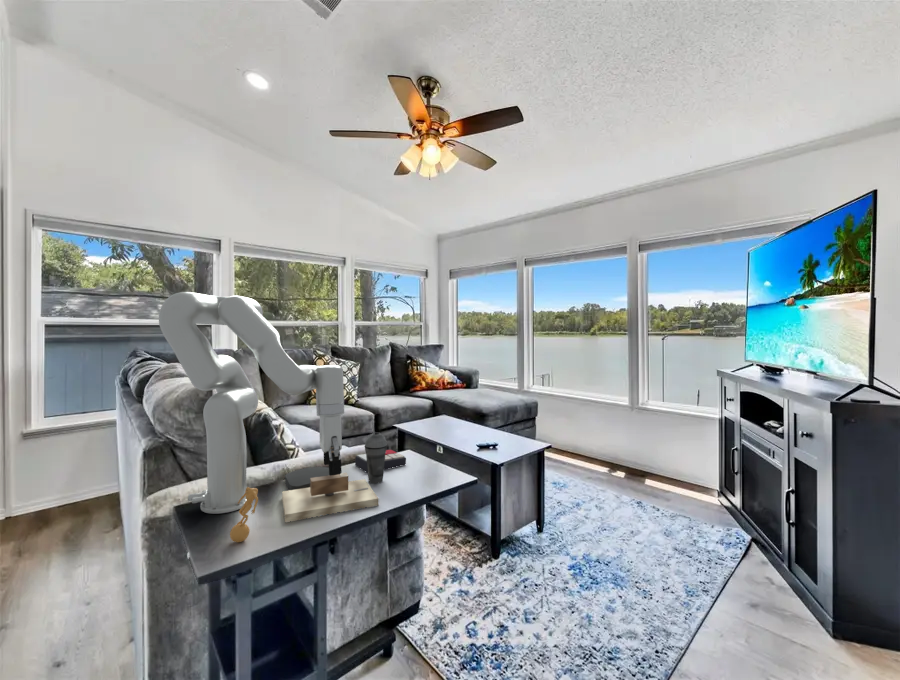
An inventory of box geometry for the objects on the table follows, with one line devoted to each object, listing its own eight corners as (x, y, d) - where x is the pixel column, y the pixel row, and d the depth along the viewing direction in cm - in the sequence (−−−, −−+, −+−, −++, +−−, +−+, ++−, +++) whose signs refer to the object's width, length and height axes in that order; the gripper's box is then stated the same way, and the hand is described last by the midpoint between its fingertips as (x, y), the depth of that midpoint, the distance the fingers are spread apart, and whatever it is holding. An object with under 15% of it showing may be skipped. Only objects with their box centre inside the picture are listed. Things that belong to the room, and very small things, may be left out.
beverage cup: (384, 485, 125) (385, 422, 125) (361, 485, 125) (362, 422, 125) (388, 477, 132) (389, 417, 132) (367, 476, 133) (367, 417, 132)
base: (285, 522, 101) (285, 514, 101) (281, 496, 117) (281, 488, 117) (378, 505, 111) (378, 497, 111) (363, 483, 127) (363, 476, 127)
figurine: (223, 538, 93) (223, 487, 93) (250, 528, 97) (250, 480, 97) (237, 551, 87) (237, 497, 87) (265, 540, 92) (265, 489, 92)
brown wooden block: (311, 499, 110) (311, 481, 109) (310, 495, 112) (310, 477, 112) (348, 493, 114) (348, 475, 114) (346, 489, 116) (346, 472, 116)
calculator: (406, 455, 145) (369, 461, 136) (406, 467, 145) (368, 474, 136) (391, 448, 154) (355, 453, 144) (390, 459, 154) (354, 465, 144)
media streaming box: (283, 479, 131) (283, 470, 131) (328, 472, 138) (328, 463, 138) (290, 495, 118) (290, 485, 118) (340, 486, 125) (340, 476, 125)
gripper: (312, 405, 119) (314, 462, 119) (320, 416, 103) (322, 481, 104) (338, 403, 122) (340, 458, 122) (350, 412, 106) (352, 476, 107)
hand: (332, 469), depth 113 cm, fingers open, 9 cm apart
